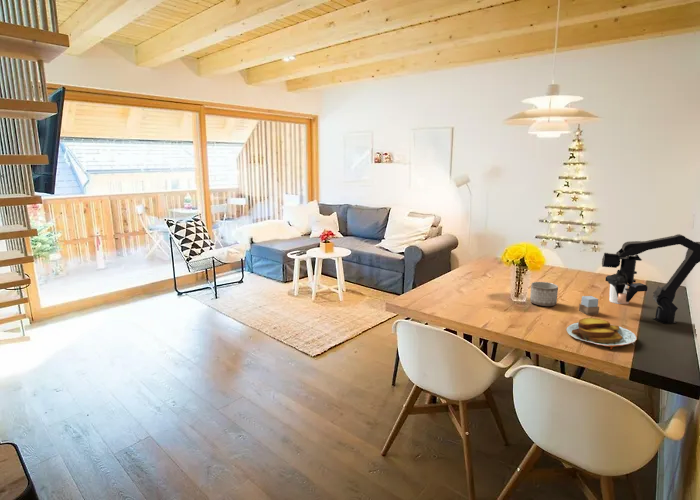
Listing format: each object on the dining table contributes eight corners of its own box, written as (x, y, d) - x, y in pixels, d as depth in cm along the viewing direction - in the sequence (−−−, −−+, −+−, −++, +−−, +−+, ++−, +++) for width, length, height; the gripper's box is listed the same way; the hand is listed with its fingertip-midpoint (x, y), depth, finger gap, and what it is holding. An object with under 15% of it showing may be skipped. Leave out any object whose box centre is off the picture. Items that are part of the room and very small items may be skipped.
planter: (524, 301, 212) (525, 283, 210) (542, 298, 217) (544, 280, 215) (543, 309, 201) (545, 289, 199) (561, 306, 205) (563, 286, 203)
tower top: (597, 306, 192) (598, 299, 191) (587, 307, 192) (588, 299, 191) (590, 303, 197) (591, 295, 196) (581, 303, 196) (581, 296, 196)
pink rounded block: (631, 303, 187) (632, 295, 186) (622, 304, 186) (623, 296, 185) (623, 300, 191) (624, 292, 190) (614, 301, 190) (615, 293, 190)
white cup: (628, 304, 205) (630, 286, 203) (611, 303, 207) (614, 285, 205) (621, 299, 213) (623, 282, 211) (605, 299, 215) (607, 281, 213)
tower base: (598, 314, 192) (599, 307, 192) (587, 315, 192) (587, 307, 191) (589, 310, 198) (590, 303, 198) (578, 311, 198) (579, 303, 197)
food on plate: (627, 357, 149) (629, 341, 148) (557, 338, 167) (558, 323, 166) (641, 337, 167) (643, 322, 165) (577, 321, 184) (578, 308, 183)
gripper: (597, 264, 193) (593, 295, 196) (628, 274, 175) (624, 307, 178) (617, 263, 195) (613, 293, 198) (650, 273, 176) (645, 306, 180)
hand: (623, 300), depth 188 cm, fingers closed on pink rounded block, 5 cm apart
